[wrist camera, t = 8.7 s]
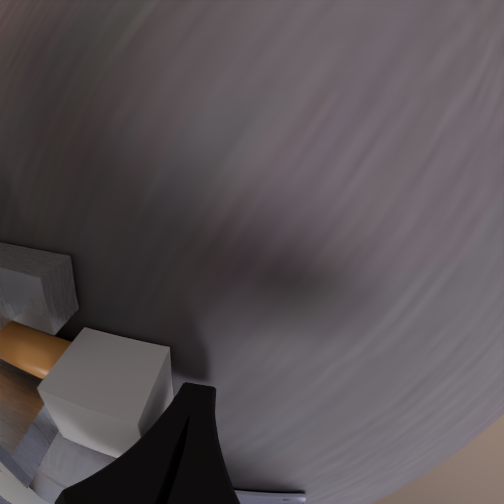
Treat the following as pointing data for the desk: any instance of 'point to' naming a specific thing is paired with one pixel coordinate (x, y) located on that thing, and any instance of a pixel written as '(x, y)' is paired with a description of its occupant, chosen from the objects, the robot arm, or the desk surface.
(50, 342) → the plug
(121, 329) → the desk surface
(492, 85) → the desk surface
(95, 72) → the desk surface
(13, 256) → the housing
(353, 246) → the desk surface
